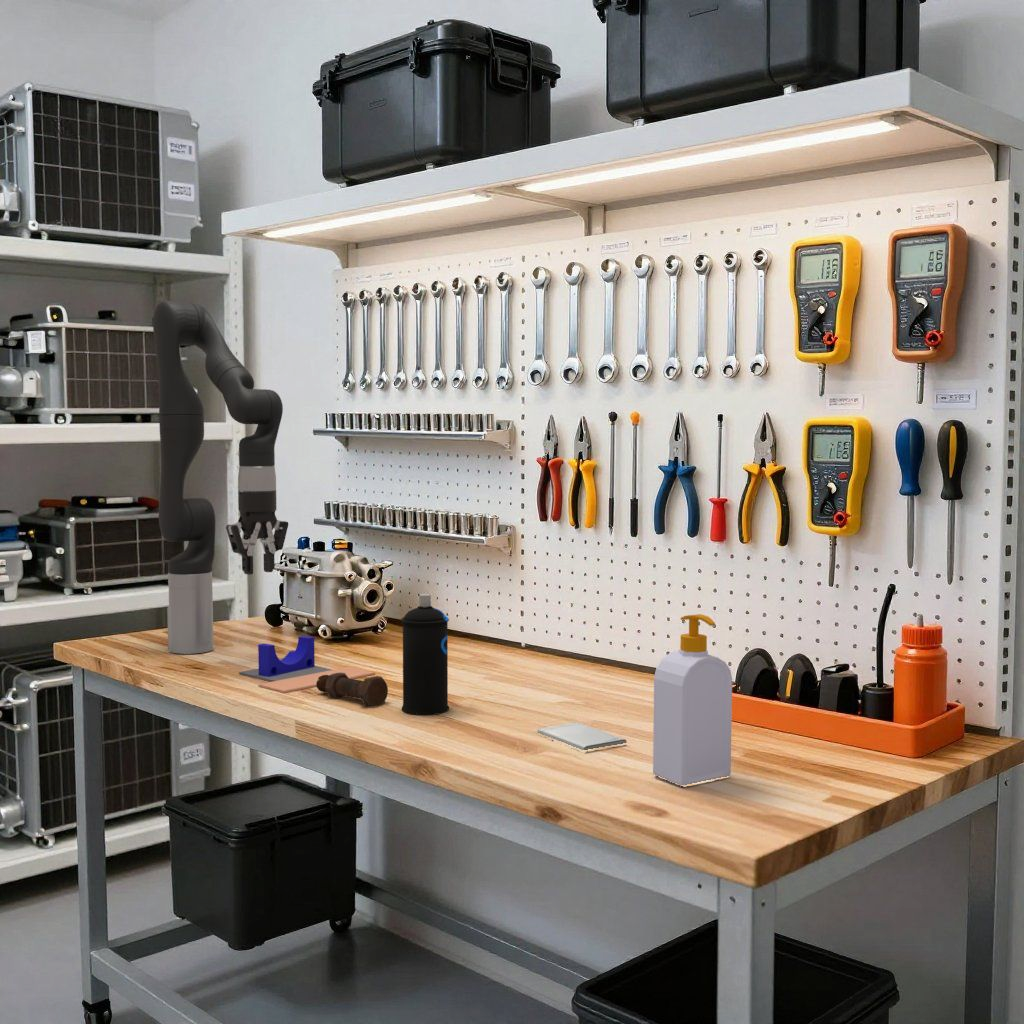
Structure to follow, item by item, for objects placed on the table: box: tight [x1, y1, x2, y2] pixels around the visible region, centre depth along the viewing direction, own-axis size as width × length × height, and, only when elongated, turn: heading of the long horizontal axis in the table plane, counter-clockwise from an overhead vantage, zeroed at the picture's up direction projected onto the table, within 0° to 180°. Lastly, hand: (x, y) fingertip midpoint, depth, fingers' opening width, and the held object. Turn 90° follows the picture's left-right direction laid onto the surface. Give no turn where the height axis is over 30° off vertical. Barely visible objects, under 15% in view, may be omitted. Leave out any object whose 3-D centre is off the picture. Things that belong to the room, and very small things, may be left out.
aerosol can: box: [400, 593, 450, 716], centre depth 198 cm, size 8×8×20 cm
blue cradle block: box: [257, 635, 316, 677], centre depth 228 cm, size 12×4×6 cm, turn 143°
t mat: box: [238, 665, 376, 694], centre depth 225 cm, size 20×22×1 cm
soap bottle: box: [652, 613, 733, 785], centre depth 159 cm, size 9×7×23 cm
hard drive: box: [537, 721, 628, 750], centre depth 179 cm, size 2×8×12 cm
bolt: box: [316, 673, 389, 708], centre depth 206 cm, size 6×5×15 cm
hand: (258, 572), depth 233 cm, fingers open, 4 cm apart
